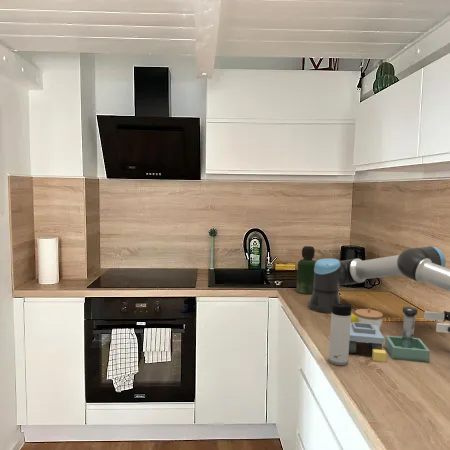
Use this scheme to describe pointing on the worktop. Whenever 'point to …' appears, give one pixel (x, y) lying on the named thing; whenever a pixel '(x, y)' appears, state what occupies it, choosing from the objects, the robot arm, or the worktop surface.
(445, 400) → the worktop surface
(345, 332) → the travel mug
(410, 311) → the clear capped cylinder
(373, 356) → the block
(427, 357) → the tray
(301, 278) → the green bottle
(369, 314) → the lidded jar
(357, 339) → the blue recessed platform
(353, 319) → the lemon
